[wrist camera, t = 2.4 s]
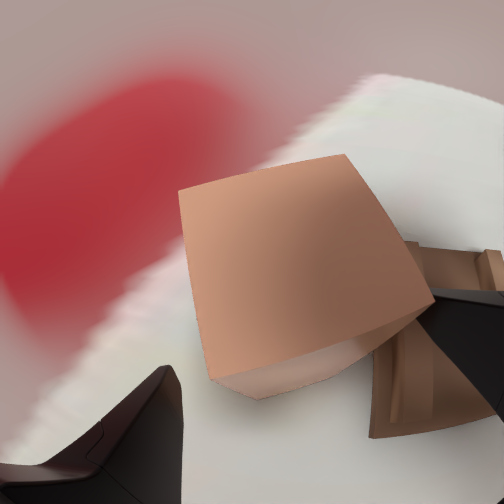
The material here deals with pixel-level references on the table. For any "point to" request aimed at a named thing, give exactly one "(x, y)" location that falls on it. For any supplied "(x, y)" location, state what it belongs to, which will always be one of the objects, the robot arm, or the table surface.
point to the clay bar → (295, 274)
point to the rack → (430, 355)
